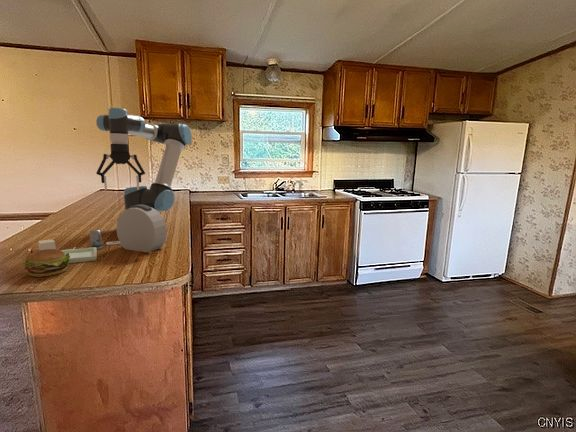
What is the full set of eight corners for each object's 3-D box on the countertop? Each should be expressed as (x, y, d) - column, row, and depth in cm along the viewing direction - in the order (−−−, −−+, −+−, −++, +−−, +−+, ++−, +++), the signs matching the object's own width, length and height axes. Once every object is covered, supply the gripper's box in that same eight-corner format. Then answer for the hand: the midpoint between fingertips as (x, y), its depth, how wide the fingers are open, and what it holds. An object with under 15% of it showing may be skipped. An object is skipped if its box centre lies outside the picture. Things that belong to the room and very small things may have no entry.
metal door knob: (103, 246, 157) (102, 228, 156) (103, 249, 153) (102, 231, 151) (90, 247, 155) (88, 229, 153) (89, 250, 150) (88, 232, 149)
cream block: (53, 250, 149) (52, 239, 148) (56, 253, 145) (55, 241, 144) (39, 252, 146) (38, 241, 145) (41, 255, 142) (40, 243, 141)
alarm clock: (167, 249, 156) (166, 205, 152) (156, 253, 149) (154, 208, 145) (129, 243, 162) (127, 201, 159) (117, 247, 155) (114, 204, 152)
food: (18, 281, 114) (16, 258, 113) (30, 268, 127) (27, 247, 126) (67, 276, 120) (65, 254, 118) (73, 264, 133) (72, 244, 131)
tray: (96, 251, 150) (96, 247, 149) (96, 260, 137) (96, 256, 137) (57, 254, 143) (57, 250, 143) (54, 264, 131) (53, 260, 131)
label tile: (120, 241, 165) (120, 240, 165) (121, 243, 162) (121, 242, 162) (106, 242, 163) (106, 242, 163) (106, 244, 159) (106, 244, 159)
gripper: (147, 144, 167) (149, 188, 171) (88, 142, 155) (91, 189, 159) (149, 144, 161) (151, 190, 164) (87, 142, 149) (91, 191, 153)
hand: (122, 189), depth 162 cm, fingers open, 13 cm apart
